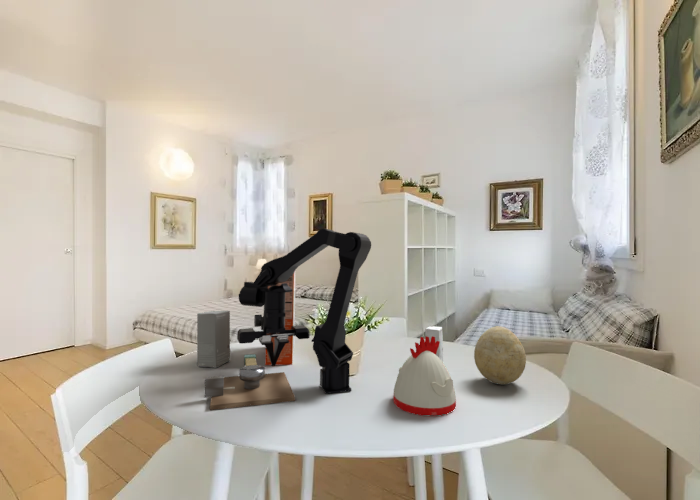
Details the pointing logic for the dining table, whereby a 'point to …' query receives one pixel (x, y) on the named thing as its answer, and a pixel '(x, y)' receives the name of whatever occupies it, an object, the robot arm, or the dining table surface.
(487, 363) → the fossilized egg
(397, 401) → the kitchen timer
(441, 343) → the skincare box
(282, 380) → the base
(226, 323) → the skincare box
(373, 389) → the dining table surface
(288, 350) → the orange upright rectangular box
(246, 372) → the metal scoop
